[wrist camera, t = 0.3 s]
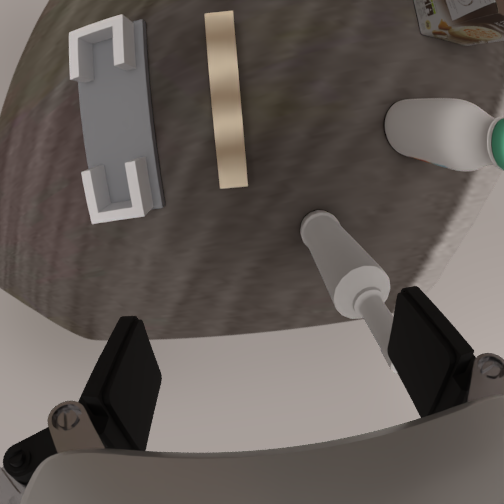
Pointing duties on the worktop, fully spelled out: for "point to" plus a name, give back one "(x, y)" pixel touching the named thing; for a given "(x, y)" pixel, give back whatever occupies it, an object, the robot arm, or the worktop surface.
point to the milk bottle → (446, 133)
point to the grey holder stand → (116, 119)
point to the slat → (226, 99)
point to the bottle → (349, 275)
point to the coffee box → (462, 20)
